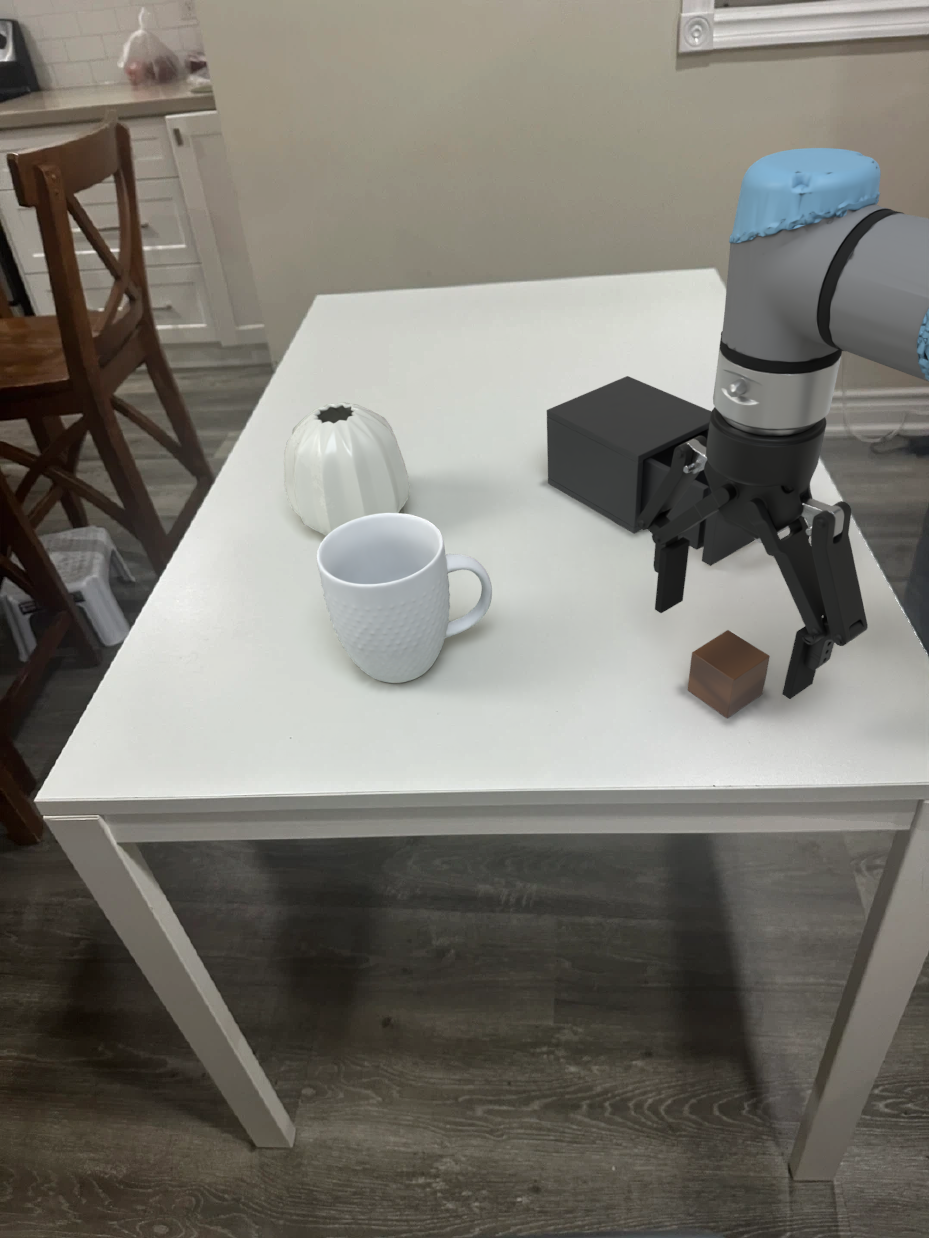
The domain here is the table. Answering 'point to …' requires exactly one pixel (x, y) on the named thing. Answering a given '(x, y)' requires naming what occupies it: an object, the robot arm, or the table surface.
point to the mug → (393, 593)
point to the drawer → (707, 533)
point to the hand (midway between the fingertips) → (729, 644)
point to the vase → (343, 467)
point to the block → (728, 673)
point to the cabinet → (615, 443)
